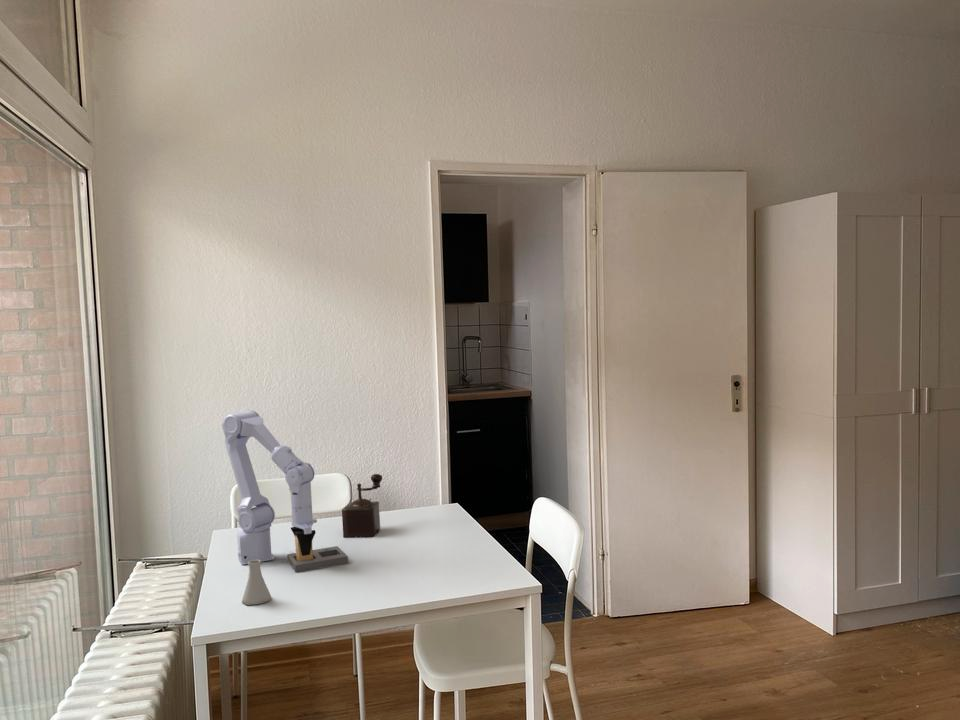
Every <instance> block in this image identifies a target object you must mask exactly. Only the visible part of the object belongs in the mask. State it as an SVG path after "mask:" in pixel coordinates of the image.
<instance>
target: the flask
mask: <svg viewBox="0 0 960 720" xmlns="http://www.w3.org/2000/svg"><path fill="white" fill-rule="evenodd" d="M261 563H262V562H261V560H251V561H249V562H248V564H247V565H248V569H249V573H248V579H247V582H246V586H245V589H244V592H243V597H242V598H241V599H242V600H241V603H242V604H244V605H245V606H250V605H251V606H252V605H254V606H255V605H260V604H264V603H267V602H270V600H271V599H272V595H271V592H270V590H269V588H268V587H267V584H266V582H265V580H264V577H263V573H262V570H261Z"/></svg>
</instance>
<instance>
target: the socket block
mask: <svg viewBox="0 0 960 720" xmlns="http://www.w3.org/2000/svg"><path fill="white" fill-rule="evenodd" d="M286 558H287V562H288V564H289V565H290V567H291V568H292V569H293V571H294V572H295V573H301V572H306V571H311V570H317V569H324V568H328V567H333V566H340V565H341V566H342V565H347V564H348V563H349V557H348V555H347V553H345V552H344V551H343V550H342V549H341V548H340V547H339V546H338V545H337V546H329V547H324V548H316V549H313V559H309V560H303V561H296V552H294V553H287V554H286Z"/></svg>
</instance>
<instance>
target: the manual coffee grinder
mask: <svg viewBox="0 0 960 720" xmlns="http://www.w3.org/2000/svg"><path fill="white" fill-rule="evenodd" d="M382 480H383V475H381V474H380V473H373V474H372V475H371V476H370V481H371V482H372V487H365V488H362V483H357V484H356V486H357V488H356V490H357V492H358V499H356V500H354V501H352V502H349V503H347V505H345V506H344V507H343V508H342V509H341V518H342V519H341V521H342V537H343V538H346V539H347V538H350V539H353V538H354V539H355V538H374V537H375V536H376V535H377V534H379V532H380V531H381V520H380V519H381V518H380V517H381V515H380V514H381V513H380V502H379V501H371V500H372V498H369V499H367V498H363V497H362V492H367V491H373V490H377V489H378V488H381V482H382Z"/></svg>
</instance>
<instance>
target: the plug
mask: <svg viewBox="0 0 960 720" xmlns="http://www.w3.org/2000/svg"><path fill="white" fill-rule="evenodd" d="M294 542H295V553H296V561H303V560H309V559H313V550H314V549H313V544H312V545H311V551H310V555H305V556H302V553H301V550H300V544H299V541H298V538H297V536H296V535H295V536H294Z"/></svg>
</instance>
